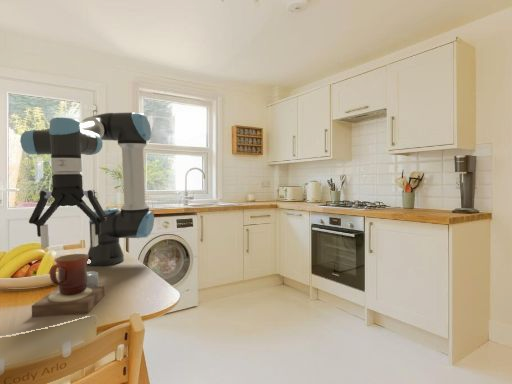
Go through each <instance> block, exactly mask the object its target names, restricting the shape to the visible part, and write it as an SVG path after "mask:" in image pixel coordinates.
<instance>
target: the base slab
mask: <svg viewBox="0 0 512 384" xmlns="http://www.w3.org/2000/svg"><path fill="white" fill-rule="evenodd" d="M58 289H59V287H57V288H55V289H53V290H52V291H50V292H49V293H48V294H46V295H44V297H42V298H41V299H39V300H38V301H37V302H35V303H34V304H31V317H32V318H35V317H36V318H37V317H39V318H40V317H53V316H54V317H55V316H68V315H84V314H86V315H87V314H89V313H90V312H91V311H92V310H93V309H94V308H95V306H96V305H97V304H98V303H99V302H100V301H101V300H102V299H103V298H104V297H105V285H97V286H91V287H86V289H85V290H84V291H83V292H81V293H78V294H74V295H63V294H61V293H60V292H59V290H58Z"/></svg>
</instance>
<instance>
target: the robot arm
mask: <svg viewBox="0 0 512 384" xmlns="http://www.w3.org/2000/svg"><path fill="white" fill-rule="evenodd" d="M151 138H152V129H151V125H150V121H149V120H148V117H147V115H145V114H144V113H142V112H134V111H132V112H105V113H100V114H96V115H93V116H88V117H85V118H84V119H83V120H82V121H79V120H78V119H76V118H71V117H70V118H69V117H53V118H51V119H50V120H49V128H45V129H39V130H38V129H37V130H36V129H31V130H25V131H23V132H22V134H21V135H20V138H19V139H20V141H19V143H20V146H21V148H22V150H23V151H24V152H25V153H26V154H29V155H37V156H39V155H50V161H51V162H50V163H51V173H53V174H52V175H51V184H52V191H49V190H48V189H47V190H41V191H39V200H38V201H37V204H36V206H35V207H34V209H33V212H32V213H31V215H30V218H29V220H28V223H29V224H31V225H34V226H36V233H37V237H38V238H40V247H41V249H42V250H43V249H44V250H45V249H47V248H49V247H50V243H49V239H50V238H49V225H48V224H46V223H47V221H48V220H49V219H50V218H51V216H52V215H53V214H54V213H55V212H56V211H57V210H58V208H60V206H61V207H67V206H68V207H73V206H76V207H77V208H79V209H80V210H81V211H82V212H83V213H84V214H85V215H86V216H87V217H88V218H89V222H88V223H89V241H90V242H89V243H90V244H89V247H88V248H89V249H88V252H87V253H86V254H87V255H89V258H88V259H90V260H91V263H90V264H89V265H88V266H95V267H97V266H99V267H102V266H109V265H110V266H111V265H115V264H119V263H122V262H123V261H125V255H124V252H123V250H122V247H121V244H120V239H143V238H144V239H145V238H148V237H149V236H150V235H151V234H152V231H153V229H154V223H155V215H154V214H155V213H154V212H153V211H151V210H150V206H149V205H148V204H146V192H145V190H146V189H145V167H144V166H145V165H144V148H145V147H147V146H148V145H147V142H149V141H150V140H151ZM103 141H115V142H116V141H117V146H119V148H121V158H122V163H121V164H122V179H123V181H122V183H123V203H124V204H123V205H122V206H121V207H120V209H119V208H118V207H117V208H116V207H114V208H107V209H103V208H102V206H101V203H100V202H99V200H98V199H97V196H96V192H95V190H94V189H89V190H84V189H83V175H82V174H81V172H82V171H83V167H82V166H83V165H82V161H83V160H82V155H85V156H91V155H96V154H97V155H98V154H99V152H101V150H102V148H103ZM84 196H85V197H86V198H87V199H88V201H89V203H90V204H91V206H92V207H93V210H92V209H91V208H90V206H88V205H87V204H86V202H85V201H84V200H83V197H84ZM51 197H52V198H53V199H54V200H53V202H52V203H51V204H50V206H49V207H47V209H46V210H45V211H44V209H45V207H46V205H47V203H48V201H49V199H50V198H51ZM43 211H44V213H43Z"/></svg>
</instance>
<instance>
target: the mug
mask: <svg viewBox="0 0 512 384" xmlns="http://www.w3.org/2000/svg"><path fill="white" fill-rule="evenodd" d="M87 254H88V253H74V254H73V253H72V254H71V253H70V254H65V255H61V256H57V257H56V258H54V262H55V264H54V265H52V266H51V267H50V269H49V278H50V281H51V283H52V284H53V285H54V286H57V288H59V289H58V290H59V292H60V293H61V294H63V295H74V294H78V293H81V292H83V291H84V290H85V289H86V287H87V272H88V270H87V261H88V258H89V255H87ZM57 276H58V277H57Z"/></svg>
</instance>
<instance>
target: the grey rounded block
mask: <svg viewBox="0 0 512 384" xmlns="http://www.w3.org/2000/svg"><path fill="white" fill-rule="evenodd" d="M91 286H99V272H98V271H94V270H93V271H87V287H91Z"/></svg>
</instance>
